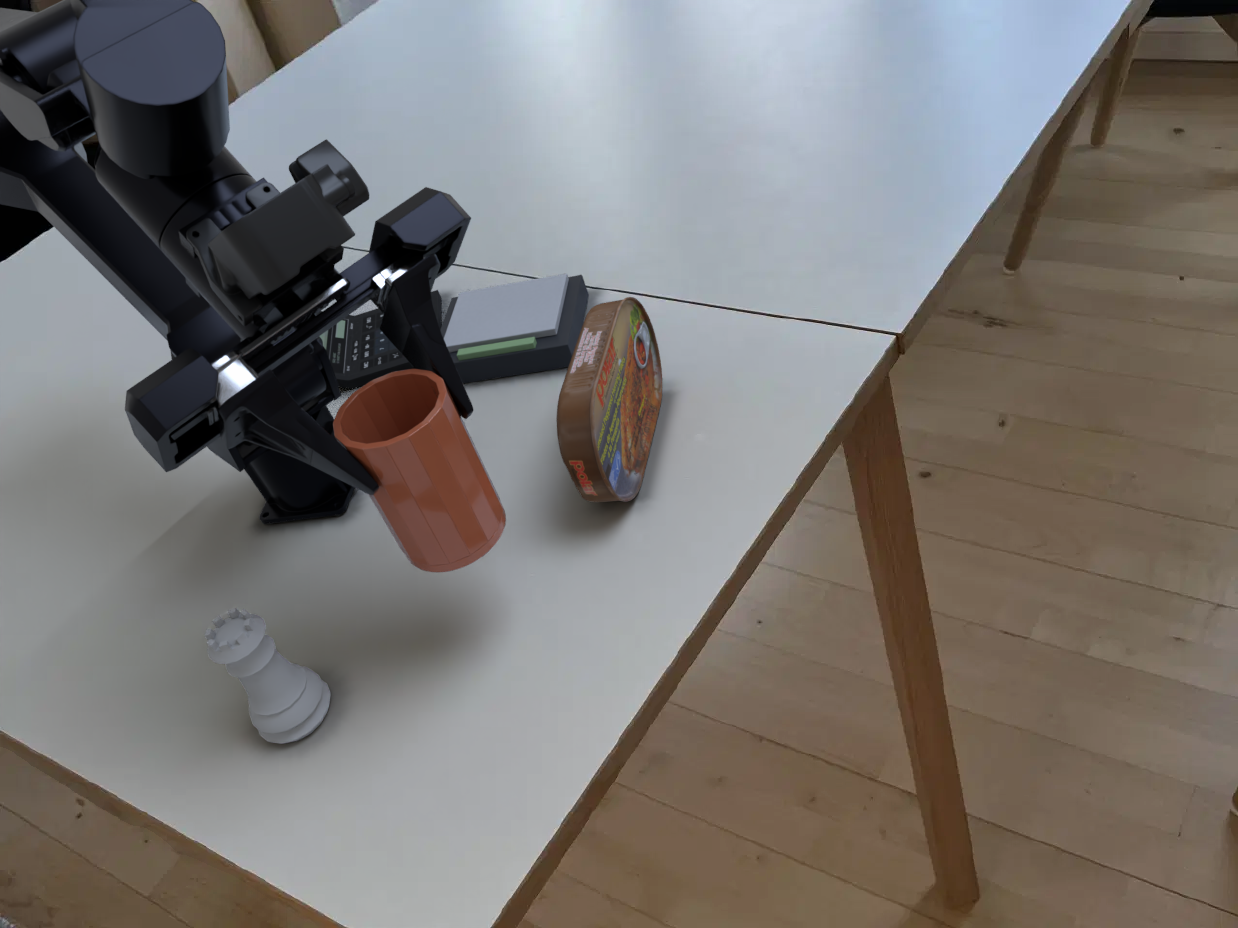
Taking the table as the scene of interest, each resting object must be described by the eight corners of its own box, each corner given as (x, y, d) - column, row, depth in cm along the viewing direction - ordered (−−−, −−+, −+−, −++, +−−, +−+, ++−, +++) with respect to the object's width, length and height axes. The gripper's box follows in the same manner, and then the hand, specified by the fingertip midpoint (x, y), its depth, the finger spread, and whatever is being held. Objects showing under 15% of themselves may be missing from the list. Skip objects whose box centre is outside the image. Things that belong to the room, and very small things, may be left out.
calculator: (442, 361, 83) (428, 330, 81) (302, 404, 84) (284, 374, 82) (441, 298, 90) (428, 268, 88) (312, 338, 91) (296, 309, 89)
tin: (630, 530, 64) (592, 427, 59) (581, 531, 65) (539, 430, 60) (670, 370, 75) (641, 270, 69) (627, 374, 76) (595, 275, 70)
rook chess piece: (315, 667, 63) (249, 579, 58) (347, 710, 60) (281, 622, 55) (249, 716, 61) (175, 631, 56) (278, 763, 58) (204, 677, 53)
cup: (393, 577, 56) (318, 455, 50) (418, 499, 61) (351, 378, 55) (496, 566, 55) (431, 439, 49) (514, 487, 59) (456, 361, 53)
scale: (436, 387, 81) (423, 361, 79) (460, 317, 87) (448, 291, 85) (575, 366, 78) (565, 338, 76) (589, 295, 84) (579, 267, 83)
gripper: (0, 242, 41) (272, 542, 41) (372, 26, 49) (601, 280, 49) (51, 348, 51) (269, 588, 52) (352, 155, 59) (542, 365, 59)
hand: (423, 452), depth 53 cm, fingers closed on cup, 6 cm apart
